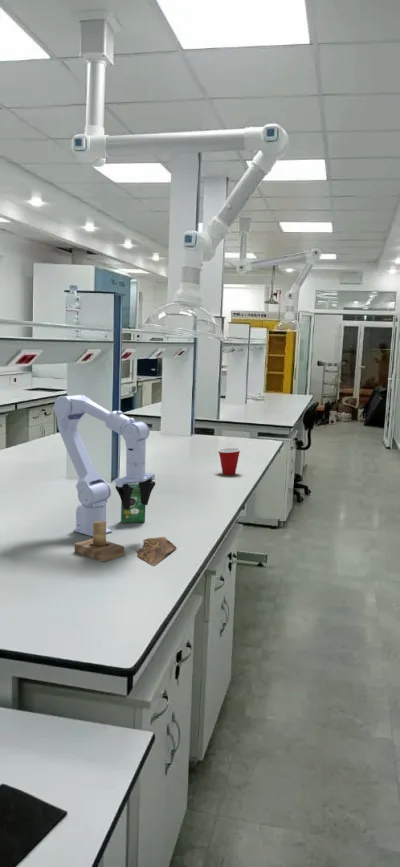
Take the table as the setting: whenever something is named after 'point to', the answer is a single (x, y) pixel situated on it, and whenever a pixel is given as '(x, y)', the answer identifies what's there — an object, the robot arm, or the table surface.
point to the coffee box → (134, 507)
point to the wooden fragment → (155, 550)
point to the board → (99, 550)
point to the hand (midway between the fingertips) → (135, 506)
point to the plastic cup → (229, 460)
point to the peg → (99, 534)
